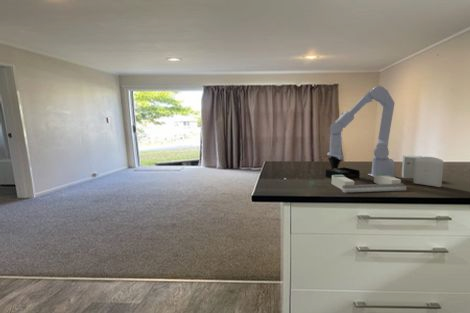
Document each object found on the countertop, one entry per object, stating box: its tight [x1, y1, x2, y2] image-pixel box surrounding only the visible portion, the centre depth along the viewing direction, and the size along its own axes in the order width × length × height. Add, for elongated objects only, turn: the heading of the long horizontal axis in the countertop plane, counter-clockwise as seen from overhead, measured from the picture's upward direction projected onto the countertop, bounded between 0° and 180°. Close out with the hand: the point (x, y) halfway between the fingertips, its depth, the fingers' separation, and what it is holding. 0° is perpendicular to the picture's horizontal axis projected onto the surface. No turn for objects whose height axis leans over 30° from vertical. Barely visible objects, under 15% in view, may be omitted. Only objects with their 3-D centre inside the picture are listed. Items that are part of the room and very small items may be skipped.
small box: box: [401, 155, 423, 180], centre depth 130 cm, size 8×6×10 cm
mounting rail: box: [341, 182, 407, 194], centre depth 108 cm, size 26×2×2 cm, turn 95°
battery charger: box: [325, 166, 361, 180], centre depth 133 cm, size 13×10×4 cm
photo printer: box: [413, 156, 444, 188], centre depth 116 cm, size 10×4×12 cm, turn 39°
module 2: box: [373, 173, 402, 184], centre depth 116 cm, size 4×12×4 cm, turn 5°
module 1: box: [331, 175, 355, 190], centre depth 114 cm, size 4×12×4 cm, turn 5°
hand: (334, 170), depth 144 cm, fingers closed
